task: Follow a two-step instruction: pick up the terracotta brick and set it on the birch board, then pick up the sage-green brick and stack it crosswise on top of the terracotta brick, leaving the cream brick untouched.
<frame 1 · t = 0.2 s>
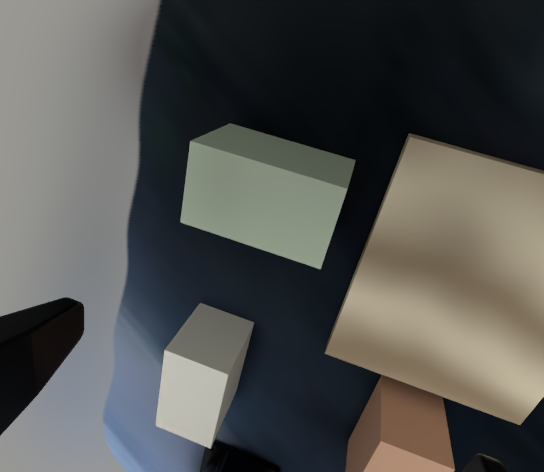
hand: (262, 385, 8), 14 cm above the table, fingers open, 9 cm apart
cream brick: (219, 348, 28), on the table
birch board: (468, 288, 21), on the table
sage brick: (283, 176, 21), on the table
terracotta brick: (392, 419, 27), on the table
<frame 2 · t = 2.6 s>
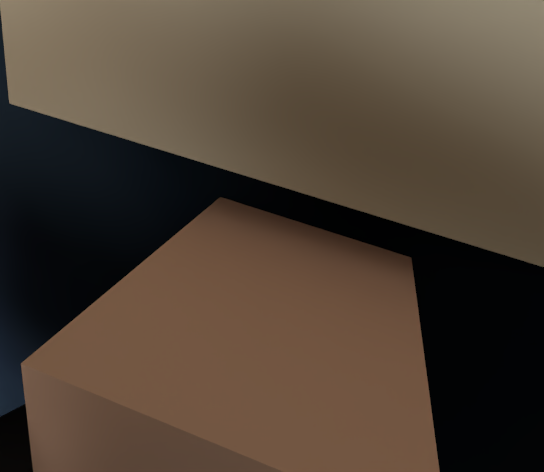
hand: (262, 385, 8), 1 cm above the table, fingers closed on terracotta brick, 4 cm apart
terracotta brick: (274, 352, 9), on the table, touching gripper
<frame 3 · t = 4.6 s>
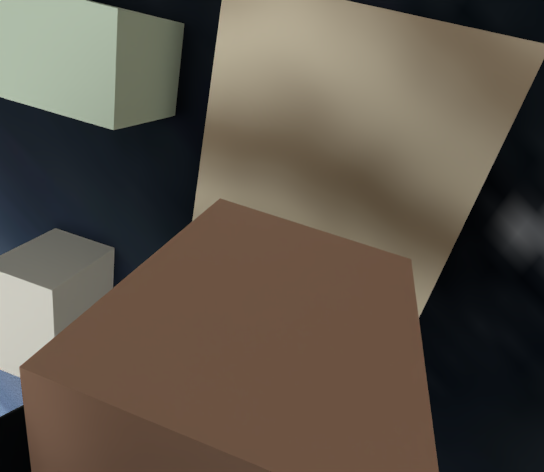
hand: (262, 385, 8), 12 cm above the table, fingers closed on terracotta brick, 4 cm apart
cream brick: (85, 285, 25), on the table
birch board: (329, 180, 18), on the table
sage brick: (113, 54, 18), on the table
terracotta brick: (274, 354, 9), point 10 cm above the table, touching gripper
when the fingers open (3 cm above the table, at t = 6.5 s): terracotta brick drops 1 cm, resting on birch board.
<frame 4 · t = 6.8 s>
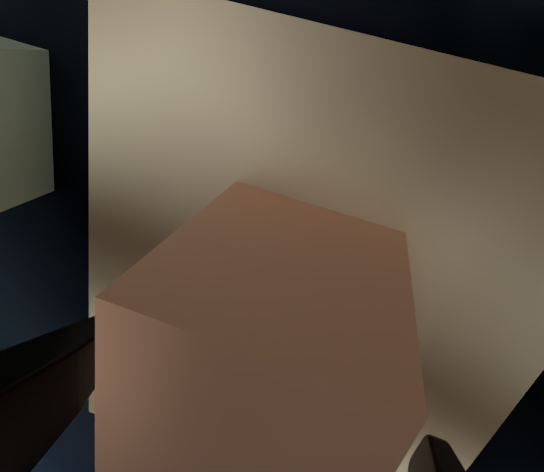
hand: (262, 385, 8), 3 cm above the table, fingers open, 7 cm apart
birch board: (293, 302, 11), on the table
terracotta brick: (283, 323, 10), point 1 cm above the table, touching birch board
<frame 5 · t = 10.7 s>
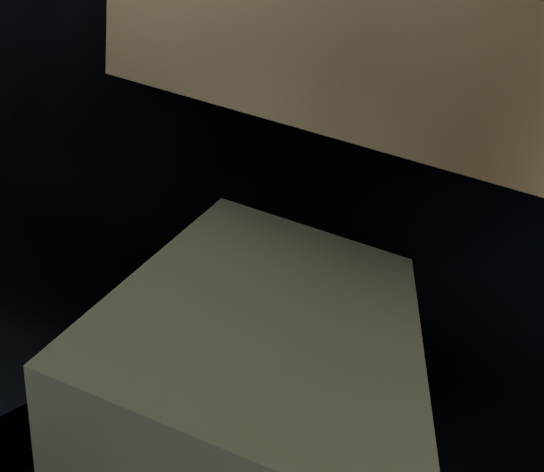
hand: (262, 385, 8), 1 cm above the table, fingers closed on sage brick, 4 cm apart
sage brick: (274, 353, 9), on the table, touching gripper
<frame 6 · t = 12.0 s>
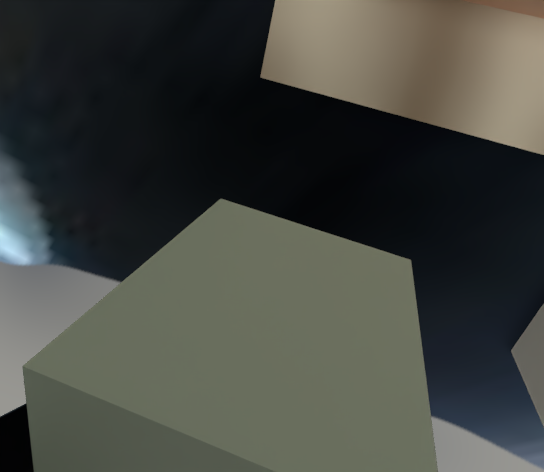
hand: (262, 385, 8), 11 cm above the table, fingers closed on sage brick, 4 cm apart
sage brick: (273, 353, 9), point 10 cm above the table, touching gripper
when the fingers open (8 cm above the table, at t = 13.6 s): sage brick drops 1 cm, resting on terracotta brick.
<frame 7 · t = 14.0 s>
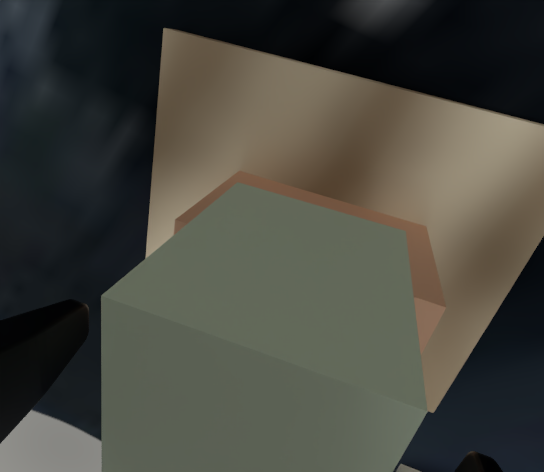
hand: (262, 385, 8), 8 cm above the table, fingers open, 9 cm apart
birch board: (318, 233, 16), on the table
sage brick: (286, 322, 10), point 6 cm above the table, touching terracotta brick
terracotta brick: (315, 244, 15), point 1 cm above the table, touching birch board, sage brick
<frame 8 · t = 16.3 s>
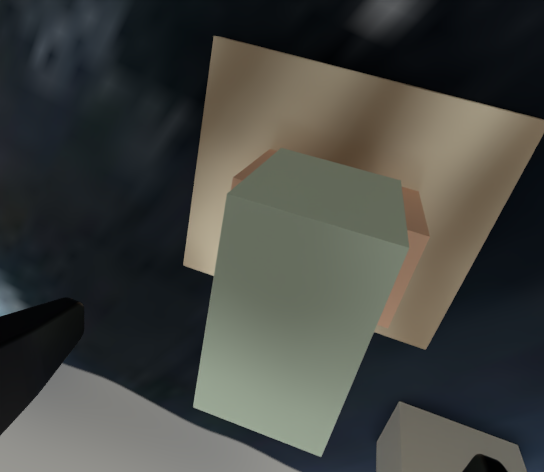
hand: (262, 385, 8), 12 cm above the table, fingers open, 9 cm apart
cream brick: (442, 442, 24), on the table
birch board: (332, 201, 19), on the table
sage brick: (313, 254, 14), point 6 cm above the table, touching terracotta brick
terracotta brick: (330, 208, 19), point 1 cm above the table, touching birch board, sage brick
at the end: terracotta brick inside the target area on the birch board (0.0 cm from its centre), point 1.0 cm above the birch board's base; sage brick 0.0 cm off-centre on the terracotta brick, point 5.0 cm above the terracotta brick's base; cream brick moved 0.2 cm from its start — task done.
